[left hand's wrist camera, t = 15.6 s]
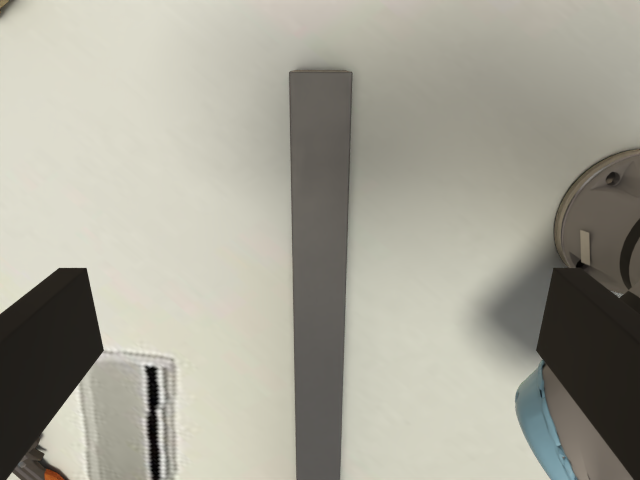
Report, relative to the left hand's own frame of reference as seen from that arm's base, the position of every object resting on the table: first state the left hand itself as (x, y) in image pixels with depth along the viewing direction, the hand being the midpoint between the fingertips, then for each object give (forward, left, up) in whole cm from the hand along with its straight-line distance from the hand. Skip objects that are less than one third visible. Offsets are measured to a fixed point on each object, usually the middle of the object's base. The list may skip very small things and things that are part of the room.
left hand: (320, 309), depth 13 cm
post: (-3, +30, -35) cm, 46 cm away
